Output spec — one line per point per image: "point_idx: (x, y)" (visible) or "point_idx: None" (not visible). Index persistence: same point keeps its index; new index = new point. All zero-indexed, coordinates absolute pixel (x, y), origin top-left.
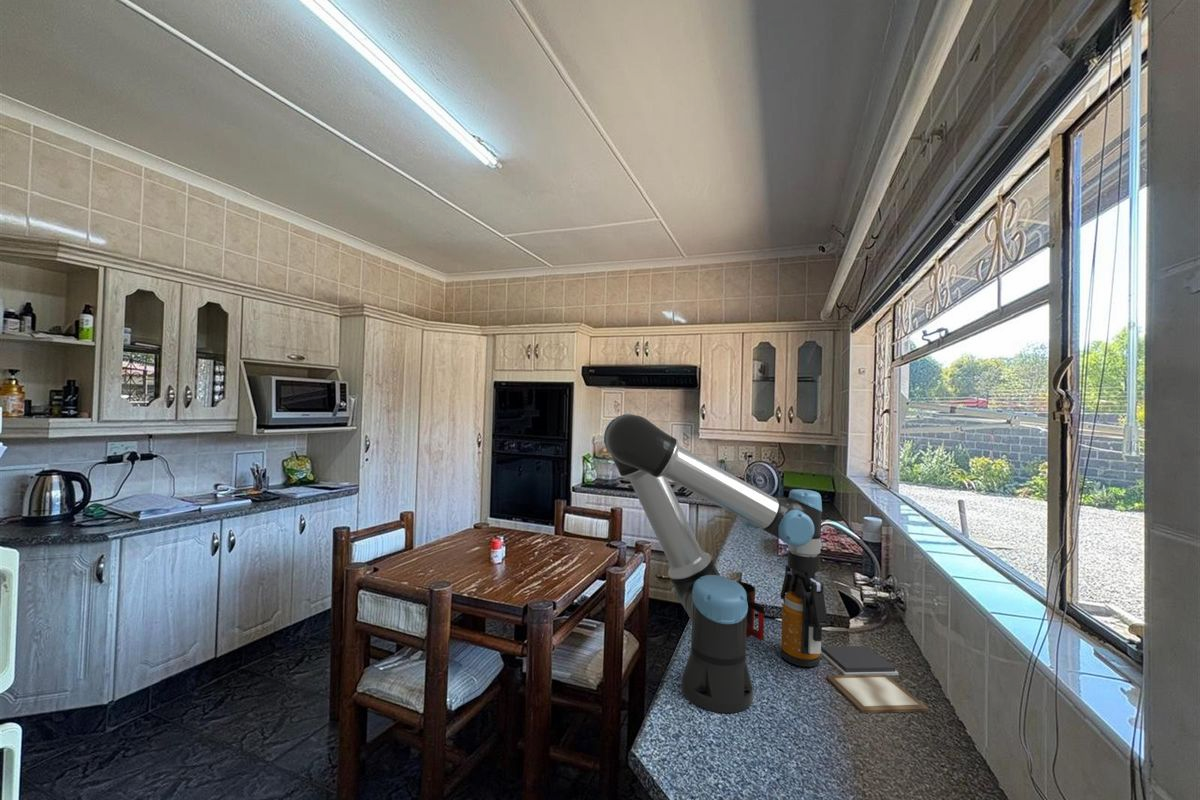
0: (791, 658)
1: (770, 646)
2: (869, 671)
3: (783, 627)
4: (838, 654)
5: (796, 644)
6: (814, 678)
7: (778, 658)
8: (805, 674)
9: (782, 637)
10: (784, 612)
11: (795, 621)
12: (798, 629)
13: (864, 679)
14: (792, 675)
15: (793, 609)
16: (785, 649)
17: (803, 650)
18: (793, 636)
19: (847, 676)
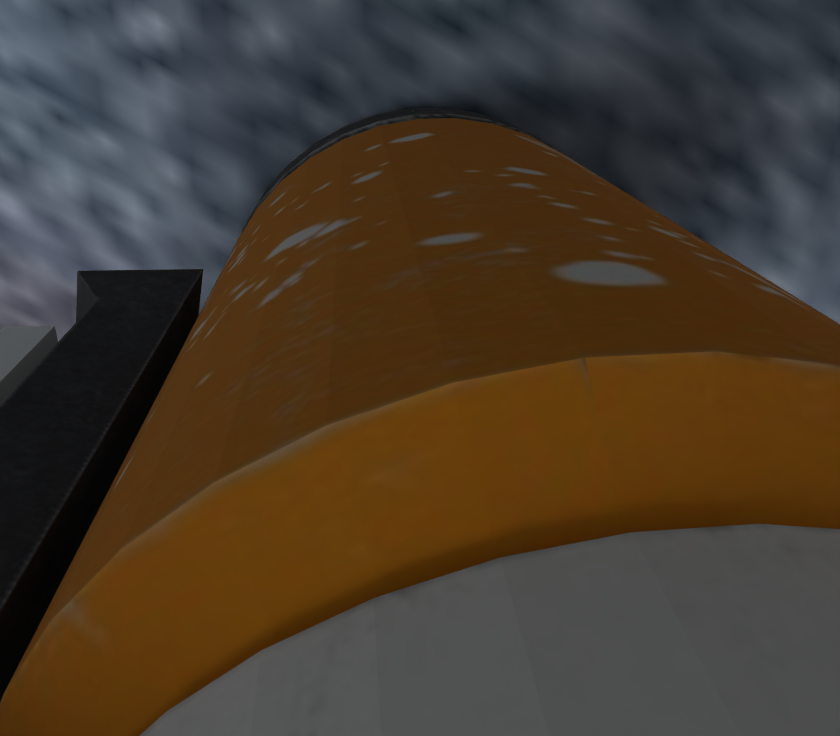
0: (304, 156)
1: (742, 114)
2: None
3: (514, 176)
4: None
5: (238, 250)
6: (55, 263)
7: (471, 67)
8: (127, 208)
9: (507, 144)
10: (607, 300)
11: (175, 416)
12: (167, 381)
13: None
14: (83, 36)
15: (258, 659)
16: (393, 127)
17: (95, 279)
18: (257, 247)
19: None
